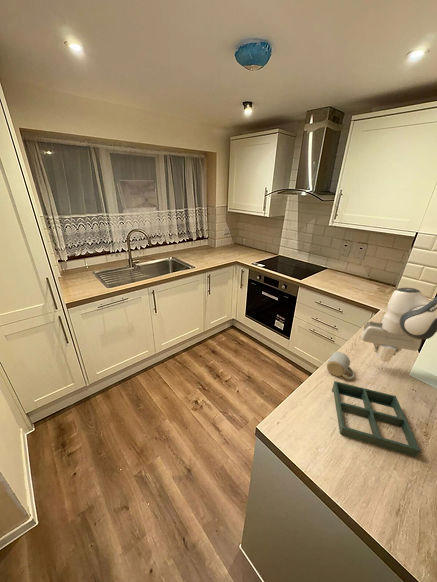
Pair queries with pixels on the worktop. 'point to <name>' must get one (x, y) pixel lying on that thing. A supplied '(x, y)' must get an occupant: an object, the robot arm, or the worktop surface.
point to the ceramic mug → (339, 365)
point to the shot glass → (385, 352)
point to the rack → (374, 417)
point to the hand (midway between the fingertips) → (384, 353)
